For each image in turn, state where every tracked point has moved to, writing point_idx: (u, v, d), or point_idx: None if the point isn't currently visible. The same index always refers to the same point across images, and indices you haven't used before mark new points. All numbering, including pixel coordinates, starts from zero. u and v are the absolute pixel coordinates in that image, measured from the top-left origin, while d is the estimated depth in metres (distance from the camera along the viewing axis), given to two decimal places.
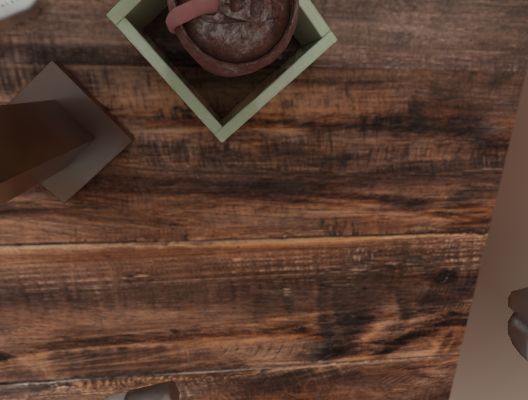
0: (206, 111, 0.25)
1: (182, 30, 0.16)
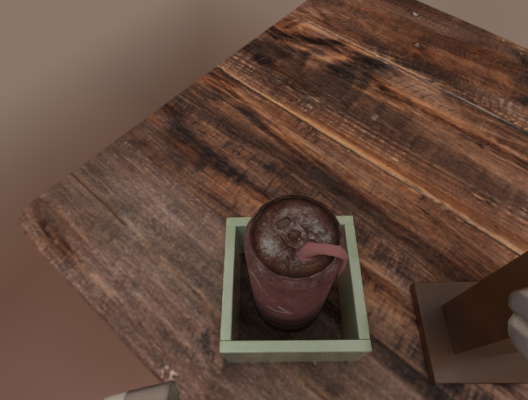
0: (347, 240, 0.29)
1: (341, 244, 0.21)
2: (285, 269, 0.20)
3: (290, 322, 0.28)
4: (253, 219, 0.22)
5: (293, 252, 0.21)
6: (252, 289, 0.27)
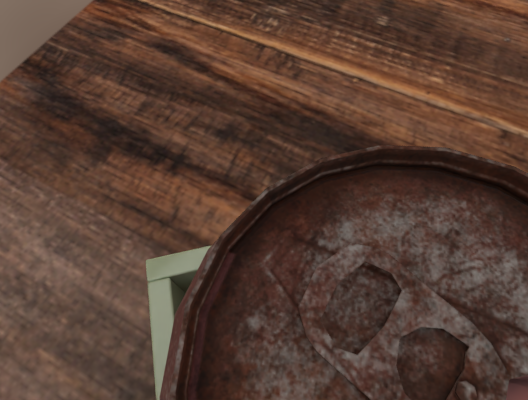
0: None
1: None
2: None
3: None
4: (195, 306, 0.04)
5: None
6: None
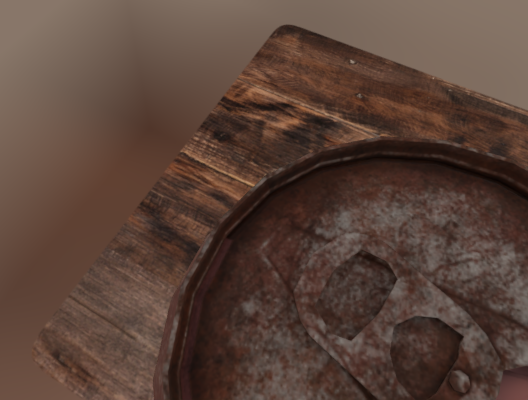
0: None
1: None
2: None
3: None
4: (191, 289, 0.04)
5: None
6: None
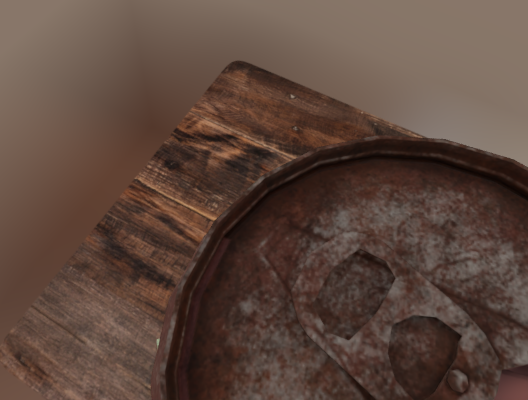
0: None
1: None
2: None
3: None
4: (188, 288, 0.04)
5: None
6: None
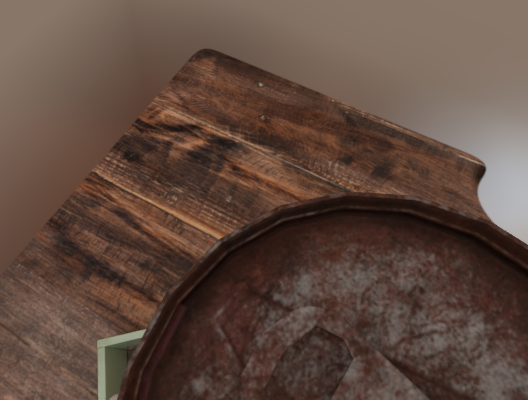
0: None
1: None
2: None
3: None
4: (137, 368, 0.04)
5: None
6: None
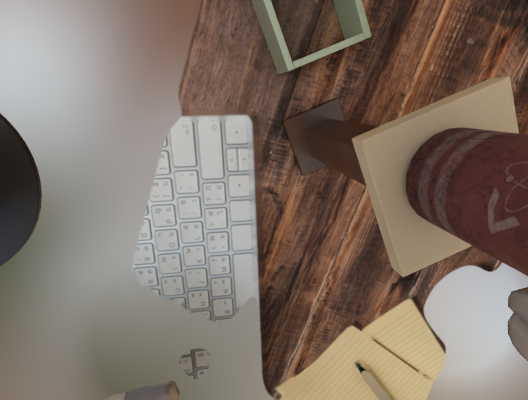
0: (352, 37, 0.42)
1: None
2: None
3: (447, 211, 0.18)
4: None
5: None
6: (503, 149, 0.16)
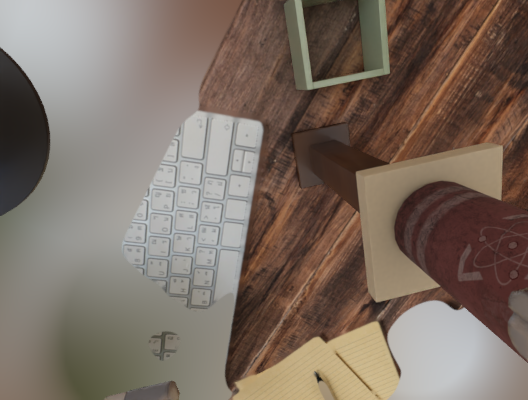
0: (371, 71, 0.44)
1: None
2: None
3: (426, 254, 0.21)
4: None
5: None
6: (482, 212, 0.19)
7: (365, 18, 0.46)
